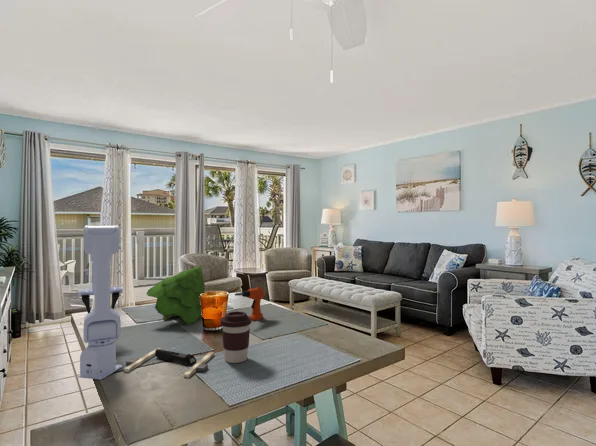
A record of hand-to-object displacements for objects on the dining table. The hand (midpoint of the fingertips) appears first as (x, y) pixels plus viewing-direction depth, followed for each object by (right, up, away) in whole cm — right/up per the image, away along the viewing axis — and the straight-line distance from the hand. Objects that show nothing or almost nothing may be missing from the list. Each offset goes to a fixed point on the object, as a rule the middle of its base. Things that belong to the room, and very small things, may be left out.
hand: (100, 312), depth 138 cm
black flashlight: (+34, -11, -19) cm, 41 cm away
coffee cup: (+54, -11, -18) cm, 58 cm away
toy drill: (+52, -11, +27) cm, 60 cm away
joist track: (+34, -11, -21) cm, 41 cm away
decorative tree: (+19, -10, +30) cm, 37 cm away
